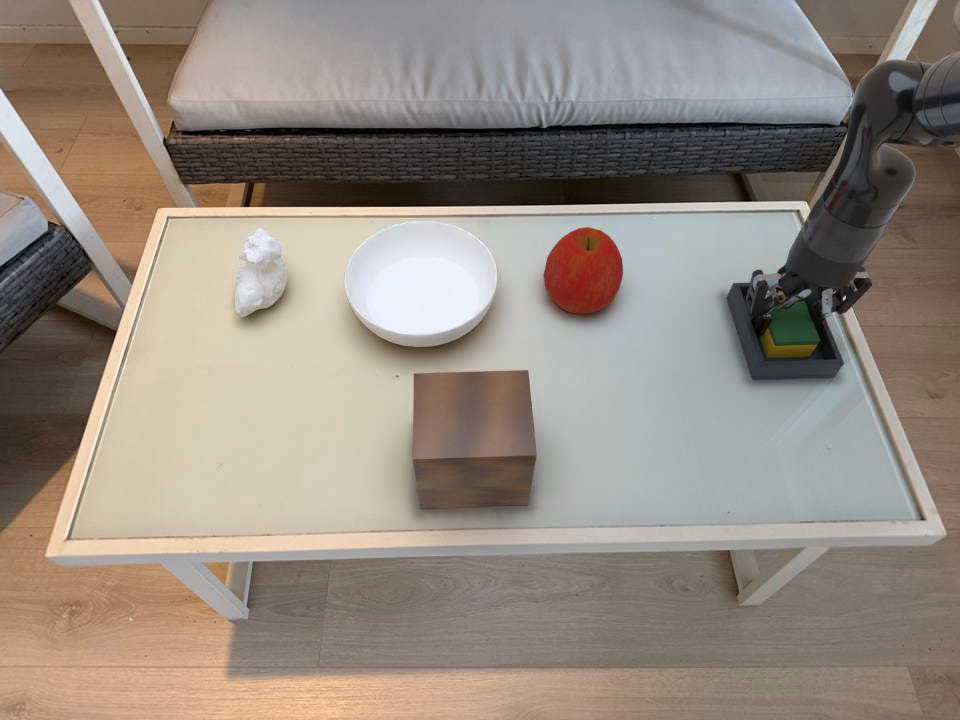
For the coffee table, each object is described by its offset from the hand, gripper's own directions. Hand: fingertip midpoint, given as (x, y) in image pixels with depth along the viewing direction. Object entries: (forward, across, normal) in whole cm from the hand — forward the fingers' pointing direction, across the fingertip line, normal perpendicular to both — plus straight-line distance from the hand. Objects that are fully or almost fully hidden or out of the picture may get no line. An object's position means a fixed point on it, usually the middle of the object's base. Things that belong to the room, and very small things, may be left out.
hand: (781, 329), depth 90 cm
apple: (+2, -25, +8) cm, 26 cm away
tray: (+1, 0, 0) cm, 1 cm away
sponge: (+1, 0, 0) cm, 1 cm away
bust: (+2, -68, +10) cm, 68 cm away
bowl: (+2, -46, +7) cm, 47 cm away
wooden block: (+1, -41, -17) cm, 44 cm away
